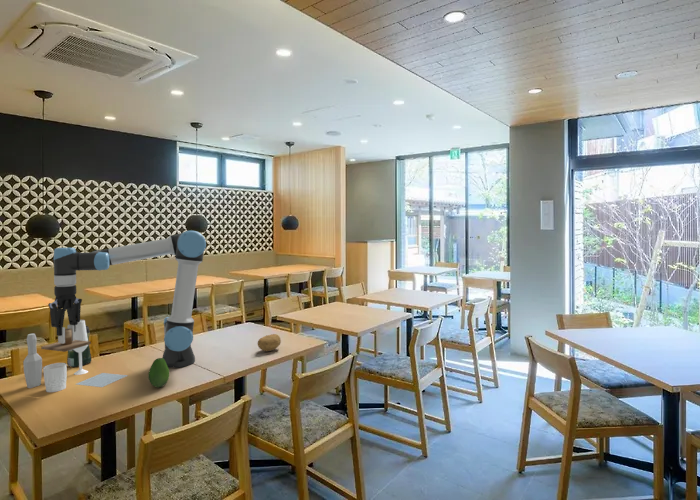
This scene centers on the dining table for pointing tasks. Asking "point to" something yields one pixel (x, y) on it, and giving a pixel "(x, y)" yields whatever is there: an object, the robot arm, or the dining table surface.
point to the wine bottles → (74, 356)
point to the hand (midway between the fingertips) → (66, 341)
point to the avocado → (158, 373)
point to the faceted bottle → (32, 363)
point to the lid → (66, 343)
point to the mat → (101, 380)
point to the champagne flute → (82, 336)
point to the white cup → (55, 377)
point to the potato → (269, 342)
